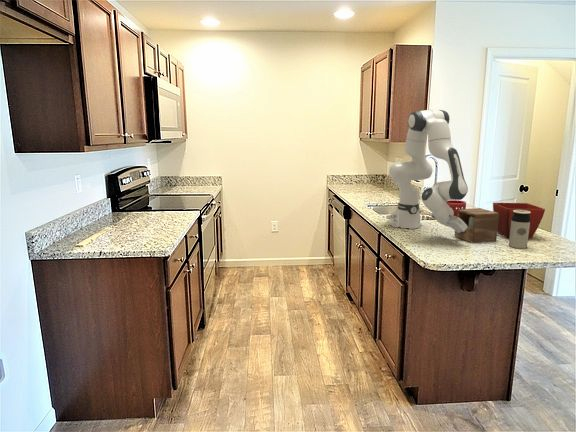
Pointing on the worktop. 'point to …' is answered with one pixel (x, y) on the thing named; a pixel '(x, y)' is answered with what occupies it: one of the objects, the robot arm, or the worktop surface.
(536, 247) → the worktop surface
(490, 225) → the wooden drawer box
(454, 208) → the plant pot
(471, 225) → the spice jar
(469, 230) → the wooden drawer
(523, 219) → the travel mug
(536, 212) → the plant pot
